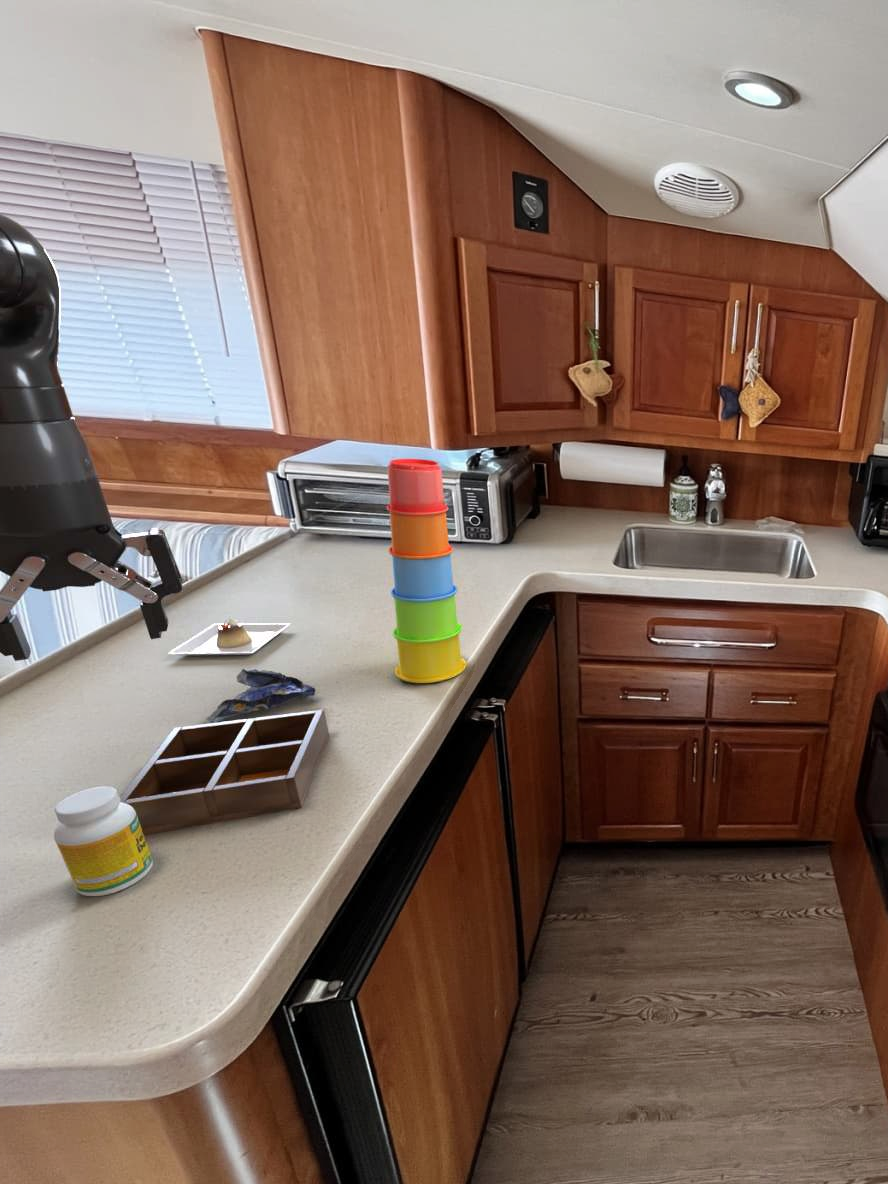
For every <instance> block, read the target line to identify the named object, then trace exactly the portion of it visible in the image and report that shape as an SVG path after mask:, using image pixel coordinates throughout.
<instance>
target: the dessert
mask: <svg viewBox="0 0 888 1184" xmlns="http://www.w3.org/2000/svg"><path fill="white" fill-rule="evenodd" d="M291 625H292V622H291V623H290V622H289V623H288V622H286V623H285V622H283V623H282V622H281V623H279V622H278V623H274V622H273V623H271V622H269V623H267V622H266V623H261V622H260V623H242V622H241V623H240V622H239V620H238V619H236V618H232V617H229V619H228V621H227V619H225V621H224V623H213V624H211V625H210V626H208V627H207V628H205V629H204V630H202V631H200V632H198V633H197V634H195V635H194V636H193V637H191V638H189V639H188V640H186V641H185V642H183V643H182V644H180V645H178V646H177V647H175V648H173V649H172V650H171V651H168V652H167V653H166V654H167V655H169V656H170V655H172V656H183V657H184V656H185V657H187V656H188V657H193V656H194V657H195V656H250V655H252V654H254V653H256V652H257V651H259V650H260V649H261V648H262V647H263V646H265V645H267V643H269V642H270V641H271V640H273V639H274V638H275V637H277V635H279V634H280V633H281V632H283V631H284V630H286V629H288V627H289V626H291Z"/></svg>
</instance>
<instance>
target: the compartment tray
mask: <svg viewBox="0 0 888 1184" xmlns="http://www.w3.org/2000/svg"><path fill="white" fill-rule="evenodd" d="M325 713H326V712H325V709H317V710H316V709H315V710H308V711H300V712H291V713H284V714H277V715H268V716H267V715H266V716H260V717H252V718H250V717H249V718H244V719H235V720H227V721H220V722H213V723H210V722H209V723H204V724H196V725H195V724H194V725H188V726H187V725H186V726H180V727H174V728H173V729H172V730H171V732H169V734H168V735H167V737H166V738H164V740H163V742H161V744H160V745H159V746H158V748H157V749H156V750H155V751H154V753H153V754H152V755H151V757H150V758H149V759H148V761H147V762H146V763H145V764H144V766H143V767H142V768H141V769H140V771H139V772H138V773H137V775H136V776H135V777H134V779H132V780H131V782H130V783H129V784H128V786H127V787H126V789H125V790H124V791H123V792H122V793H121V794H120V795H119V797H120V799H121V800H120V802H121V803H126V804H128V805H130V806H131V807H133V809H134V810H135V812H136V814H137V817H138V820H139V823H140V826H141V829H142V832H143V834H144V836H145V835H146V836H147V835H151V834H155V833H162V832H168V831H173V830H180V829H185V828H192V827H196V826H197V827H198V826H203V825H208V824H215V823H219V822H225V821H232V820H236V819H237V820H238V819H243V818H249V817H255V816H260V815H265V814H272V813H277V812H282V811H289V810H295V809H301V808H302V807H303V805H304V802H305V800H306V796H307V794H308V793H309V792H308V791H310V790H309V789H310V787H311V784H312V782H313V780H314V777H315V774H316V772H317V769H318V767H319V764H320V762H321V759H322V756H323V754H324V751H325V749H326V746H327V744H328V741H329V738H330V732H329V727H328V723H327V718H326V714H325Z"/></svg>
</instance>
